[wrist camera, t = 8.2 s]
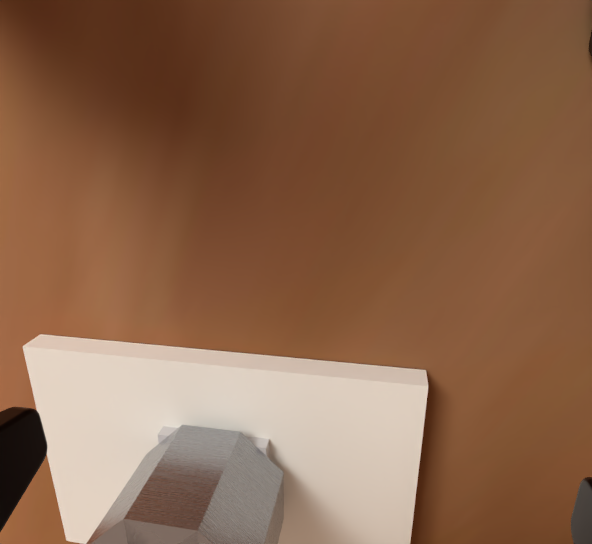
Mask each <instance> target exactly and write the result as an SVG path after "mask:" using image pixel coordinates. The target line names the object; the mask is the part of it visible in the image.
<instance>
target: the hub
mask: <svg viewBox="0 0 592 544" xmlns="http://www.w3.org/2000/svg"><path fill="white" fill-rule="evenodd" d="M283 520H284V472H283V471H282V470H281V469H280V468H279V467H278V466H276V465H275V464H274V463H273V462H272V461H271V460H270V459H269V458H268V457H267V456H266V455H265V454H264V453H263V452H262V451H260V450H259V449H258V448H257V447H256V446H255V445H254V444H253V443H252V442H251V441H250V440H249V439H248V438H247V437H246V436H244V435H243V434H242V433H241V432H238V431H230V430H222V429H214V428H206V427H198V426H190V425H181V426H180V427H179V428H177V429H176V430H175V431H174V432H173V433H171V434H170V435H169V436H168V437H166V438H165V439H164V440H163V441H162V442H160V443H159V444H158V445H157V446H155V447H154V448H153V449H152V450H151V451H149V452H148V453H147V454H146V456H145V457H144V458H143V460H142V461H141V463H140V464H139V466H138V467H137V469H136V470H135V472H134V473H133V475H132V476H131V478H130V479H129V481H128V482H127V484H126V485H125V487H124V488H123V490H122V491H121V493H120V494H119V496H118V497H117V499H116V500H115V502H114V503H113V505H112V506H111V508H110V509H109V511H108V512H107V514H106V515H105V517H104V518H103V519H102V521H101V522H100V524H99V525H98V527H97V528H96V530H95V531H94V533H93V534H92V536H91V537H90V539H89V540H88V542H87V543H86V544H278V540H279V536H280V532H281V528H282V524H283Z"/></svg>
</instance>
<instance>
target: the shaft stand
mask: <svg viewBox="0 0 592 544" xmlns="http://www.w3.org/2000/svg"><path fill="white" fill-rule="evenodd" d="M23 350H24V355H25V359H26V364H27V368H28V372H29V377H30V381H31V386H32V390H33V394H34V399H35V403H36V408H37V412H38V413H39V415H40V418H41V422H42V425H43V429H44V433H45V437H46V441H47V456H48V461H49V465H50V470H51V474H52V478H53V483H54V487H55V492H56V496H57V500H58V505H59V509H60V514H61V518H62V522H63V527H64V531H65V536H66V540H67V541H71V542H77V543H83V544H86V543H87V542H88V540H89V539H90V537H91V536H92V534H93V533H94V531H95V530H96V528H97V527H98V525H99V524H100V522H101V521H102V519H103V518H104V517H105V515H106V514H107V512H108V511H109V509H110V508H111V506H112V505H113V503H114V502H115V500H116V499H117V497H118V496H119V494H120V493H121V491H122V490H123V488H124V487H125V485H126V484H127V482H128V481H129V479H130V478H131V476H132V475H133V473H134V472H135V470H136V469H137V467H138V466H139V464H140V463H141V461H142V460H143V458H144V457H145V456H146V454H147V453H148V452H149V451H151V450H152V449H153V448H154V447H155V446H157V445H158V444H159V443H160V442H162V441H163V440H164V439H165V438H166V437H168V436H169V435H170V434H171V433H173V432H174V431H175V430H176V429H177V428H179V427H180V426H181V425H190V426H198V427H206V428H214V429H222V430H230V431H238V432H241V433H242V434H243V435H244V436H246V437H247V438H248V439H249V440H250V441H251V442H252V443H253V444H254V445H255V446H256V447H257V448H258V449H259V450H260V451H262V452H263V453H264V454H265V455H266V456H267V457H268V458H269V459H270V460H271V461H272V462H273V463H274V464H275V465H276V466H278V467H279V468H280V469H281V470H282V471H283V472H284V520H283V524H282V528H281V532H280V536H279V540H278V544H410V541H411V533H412V524H413V515H414V507H415V498H416V490H417V481H418V472H419V464H420V455H421V446H422V438H423V429H424V421H425V412H426V403H427V395H428V380H427V374H426V370H419V369H408V368H397V367H387V366H376V365H365V364H354V363H344V362H333V361H322V360H311V359H301V358H290V357H279V356H268V355H258V354H247V353H236V352H225V351H215V350H204V349H193V348H182V347H172V346H161V345H150V344H140V343H129V342H118V341H107V340H97V339H86V338H75V337H64V336H54V335H43V334H40V335H39V336H37V337H36V338H34V339H33V340H31V341H30V342H28V343H27V344H25V345H24V346H23Z"/></svg>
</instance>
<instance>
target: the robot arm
mask: <svg viewBox="0 0 592 544" xmlns="http://www.w3.org/2000/svg"><path fill="white" fill-rule="evenodd" d="M589 51H590V54H591V56H592V32H591V37H590V42H589ZM46 454H47V441H46V437H45V433H44V429H43V425H42V422H41V418H40V415H39V413H38V412H37V411H36V410H35V409H32V408H24V407H11V408H8V409H6V410H4V411H1V412H0V532H1V530H2V528H3V527H4V525H5V524H6V522H7V520H8V519H9V517H10V515H11V514H12V512H13V510H14V509H15V507H16V505H17V504H18V502H19V500H20V499H21V497H22V495H23V494H24V492H25V490H26V489H27V487H28V486H29V484H30V482H31V481H32V479H33V477H34V476H35V474H36V472H37V471H38V469H39V467H40V466H41V464H42V462H43V461H44V459H45V456H46ZM571 533H572V538H573V542H574V544H592V477H587V478H584V479H583V480H582V481H581V483H580V486H579V490H578V494H577V498H576V502H575V506H574V510H573V513H572V518H571Z"/></svg>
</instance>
